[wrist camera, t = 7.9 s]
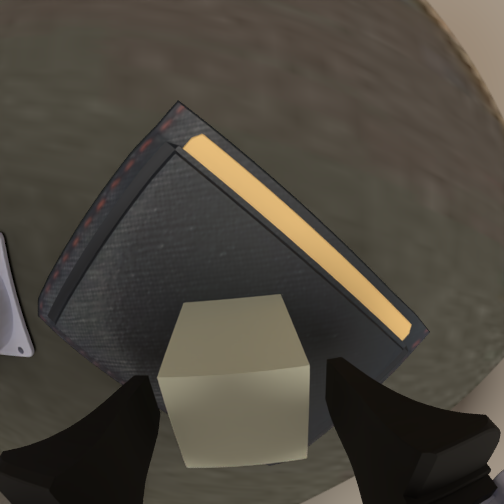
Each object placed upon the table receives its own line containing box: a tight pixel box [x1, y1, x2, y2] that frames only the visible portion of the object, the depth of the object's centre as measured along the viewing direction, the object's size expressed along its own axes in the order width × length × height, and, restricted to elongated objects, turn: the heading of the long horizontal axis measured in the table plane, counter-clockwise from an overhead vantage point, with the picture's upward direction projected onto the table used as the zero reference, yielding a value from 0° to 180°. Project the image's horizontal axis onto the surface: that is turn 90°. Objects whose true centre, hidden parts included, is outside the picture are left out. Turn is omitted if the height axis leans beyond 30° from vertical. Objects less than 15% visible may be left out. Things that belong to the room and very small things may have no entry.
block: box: [157, 294, 310, 468], centre depth 12 cm, size 4×4×6 cm
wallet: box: [38, 101, 430, 465], centre depth 16 cm, size 20×2×15 cm
